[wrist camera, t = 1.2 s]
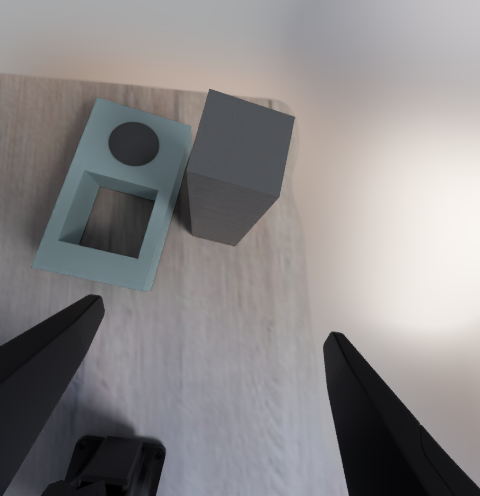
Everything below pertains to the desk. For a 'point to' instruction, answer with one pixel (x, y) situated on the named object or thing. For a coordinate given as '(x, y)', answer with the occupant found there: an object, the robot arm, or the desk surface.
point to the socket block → (120, 179)
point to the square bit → (235, 166)
